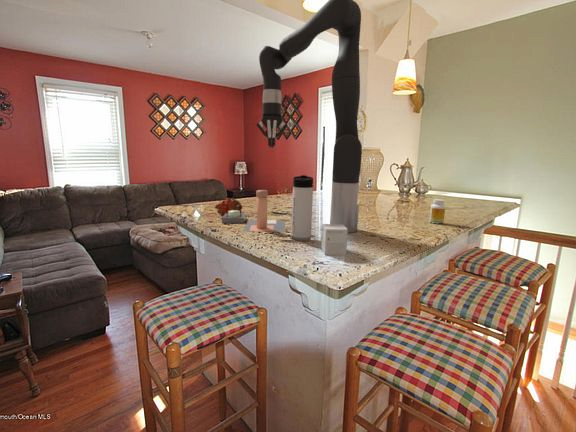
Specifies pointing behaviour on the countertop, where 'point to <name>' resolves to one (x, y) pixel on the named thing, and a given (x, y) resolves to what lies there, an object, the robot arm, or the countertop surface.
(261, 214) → the tan tall block
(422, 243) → the countertop surface
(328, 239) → the product box
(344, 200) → the robot arm
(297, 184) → the travel mug
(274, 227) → the board
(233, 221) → the button housing
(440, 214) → the supplement bottle
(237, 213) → the button
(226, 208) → the dragon fruit
